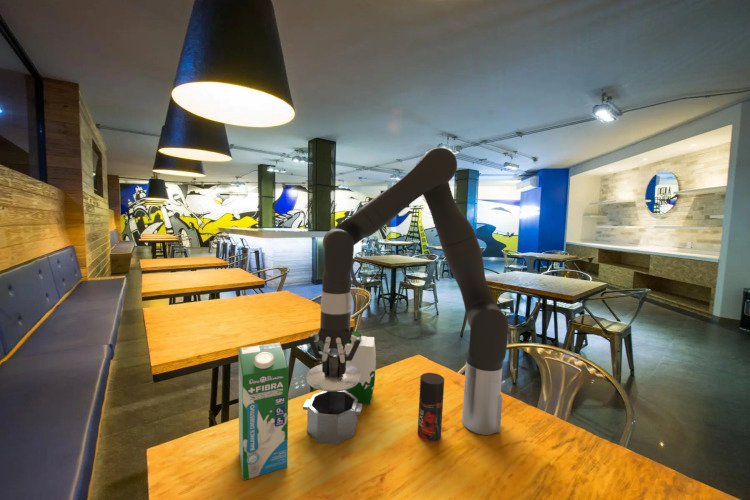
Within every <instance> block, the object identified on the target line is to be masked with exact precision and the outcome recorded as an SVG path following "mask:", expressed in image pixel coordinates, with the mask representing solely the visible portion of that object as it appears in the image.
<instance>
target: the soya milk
mask: <svg viewBox="0 0 750 500" xmlns="http://www.w3.org/2000/svg"><path fill="white" fill-rule="evenodd" d="M351 332H352V335H354V336H356V337H361V342H360V344H359V346H358V348H357V350H356V352H355V354H354V357H353V359H352V360H351V361H346V364H349V365H352V366H354V367H356V368H357V369H358V370H359V371H360V375H361V376H360V381H359V383H358V384H357V385H356V386H354V387H352V388H350V389H347V390H345V391H348V392H349V393H351V394H352V395H353V396H355V397H356V398H357V399H358V401H357V403H362V405H371V403H372V399H373V394H374V393H373V392H374V389H375V383H376V363H377V361H376V359H377V357H376V353H377V352H376V343H375V336H365V335H362V333H360V332H359V331H351ZM351 342H352V341H351V339H350V340H349V341H348V342H347V343H346V354H349V353H350V351H351V349H352V347H353V345H352V344H351Z"/></svg>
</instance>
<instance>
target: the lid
mask: <svg viewBox="0 0 750 500" xmlns="http://www.w3.org/2000/svg"><path fill="white" fill-rule="evenodd" d="M339 365H340V356H339V353H338V352H332V353H329V355H328V375H324V373H323V371H322V363H321V364H317V365H316V366H314V367H312V368H310V369H309V370H308V372H307V373H306V381H307V384H308V385H309V386H311V387H312V388H313V389H315V390H319V391H321V392H323V391H329V392H336V391H343V390H347V389H350V388H352V387H354V386H356V385H357V384H358V383H359V381H360V376H361V375H360V371H359V370H358V369H357V368H356V367H354V366H352V365H349V364H346V371H345V373H344V374H343V375H342V376H339Z"/></svg>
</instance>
